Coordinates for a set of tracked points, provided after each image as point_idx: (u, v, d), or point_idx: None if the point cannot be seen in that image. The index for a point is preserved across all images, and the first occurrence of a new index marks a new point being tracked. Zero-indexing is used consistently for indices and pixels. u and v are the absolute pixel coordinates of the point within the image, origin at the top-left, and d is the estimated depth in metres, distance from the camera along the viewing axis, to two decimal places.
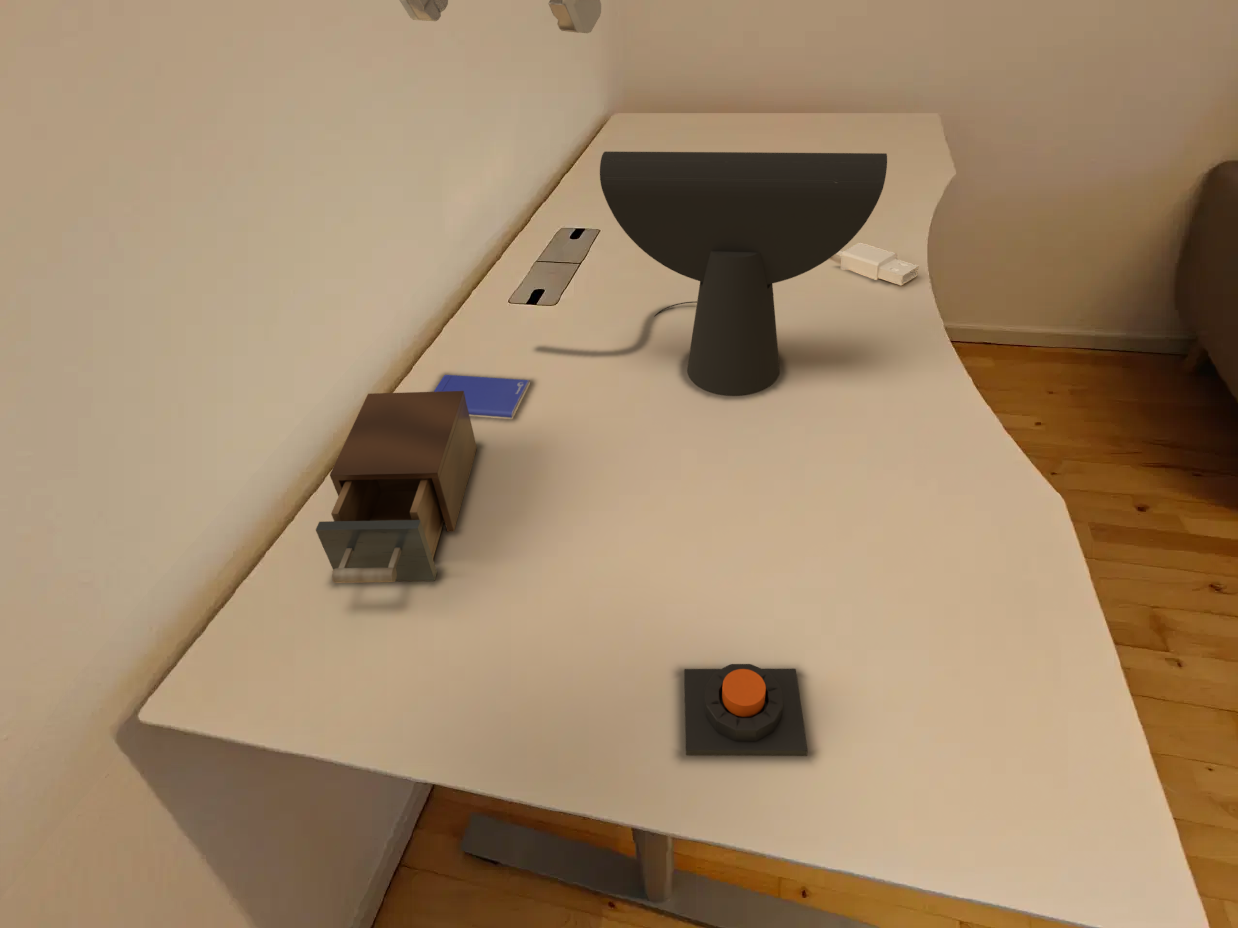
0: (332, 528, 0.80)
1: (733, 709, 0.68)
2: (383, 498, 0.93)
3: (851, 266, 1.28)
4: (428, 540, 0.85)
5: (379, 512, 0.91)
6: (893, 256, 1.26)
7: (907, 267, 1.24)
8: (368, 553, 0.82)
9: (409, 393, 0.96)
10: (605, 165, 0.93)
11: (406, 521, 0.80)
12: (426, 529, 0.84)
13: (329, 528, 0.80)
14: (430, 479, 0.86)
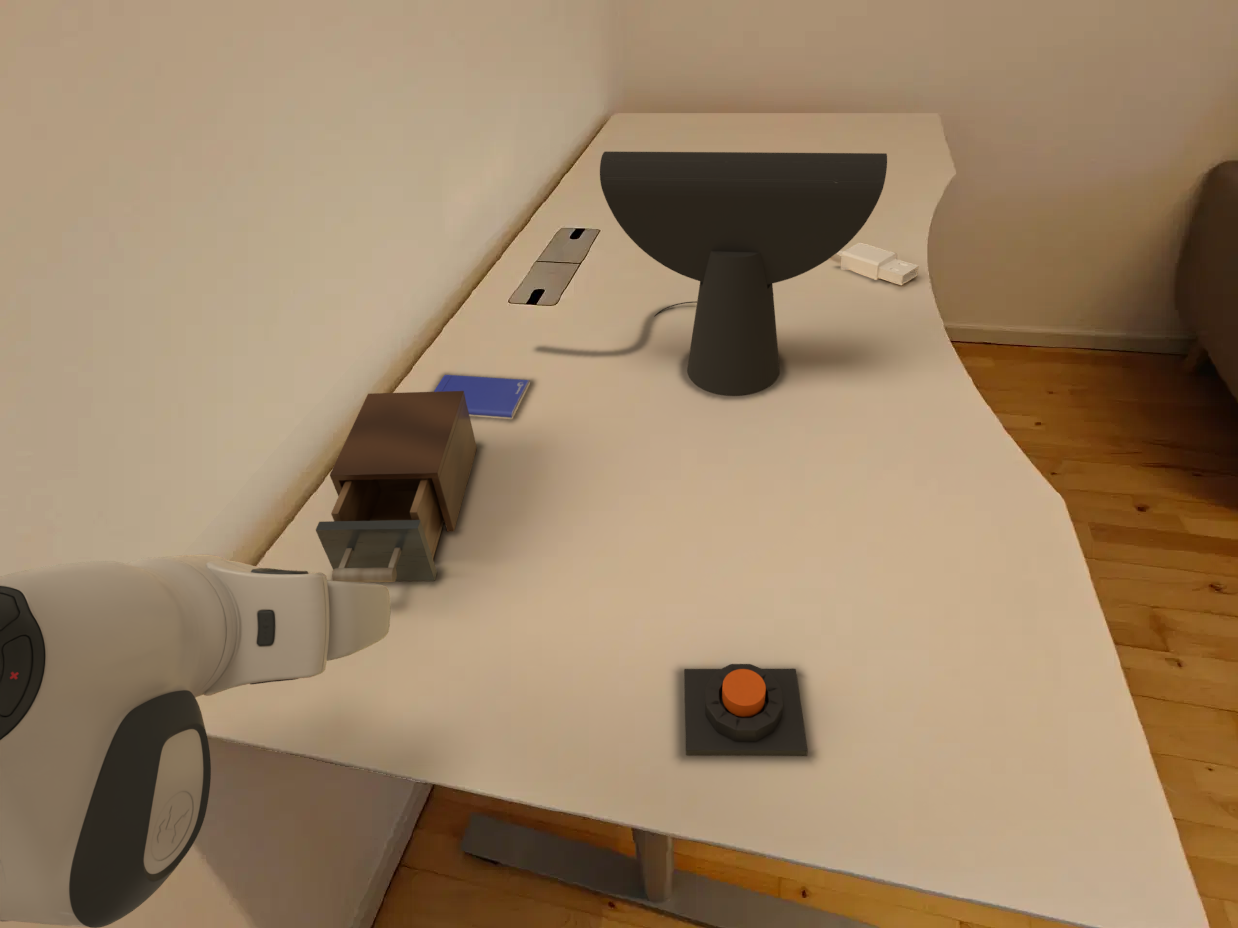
0: (332, 528, 0.80)
1: (733, 709, 0.68)
2: (383, 498, 0.93)
3: (851, 266, 1.28)
4: (428, 540, 0.85)
5: (379, 512, 0.91)
6: (893, 256, 1.26)
7: (907, 267, 1.24)
8: (368, 553, 0.82)
9: (409, 393, 0.96)
10: (605, 165, 0.93)
11: (406, 521, 0.80)
12: (426, 529, 0.84)
13: (329, 528, 0.80)
14: (430, 479, 0.86)
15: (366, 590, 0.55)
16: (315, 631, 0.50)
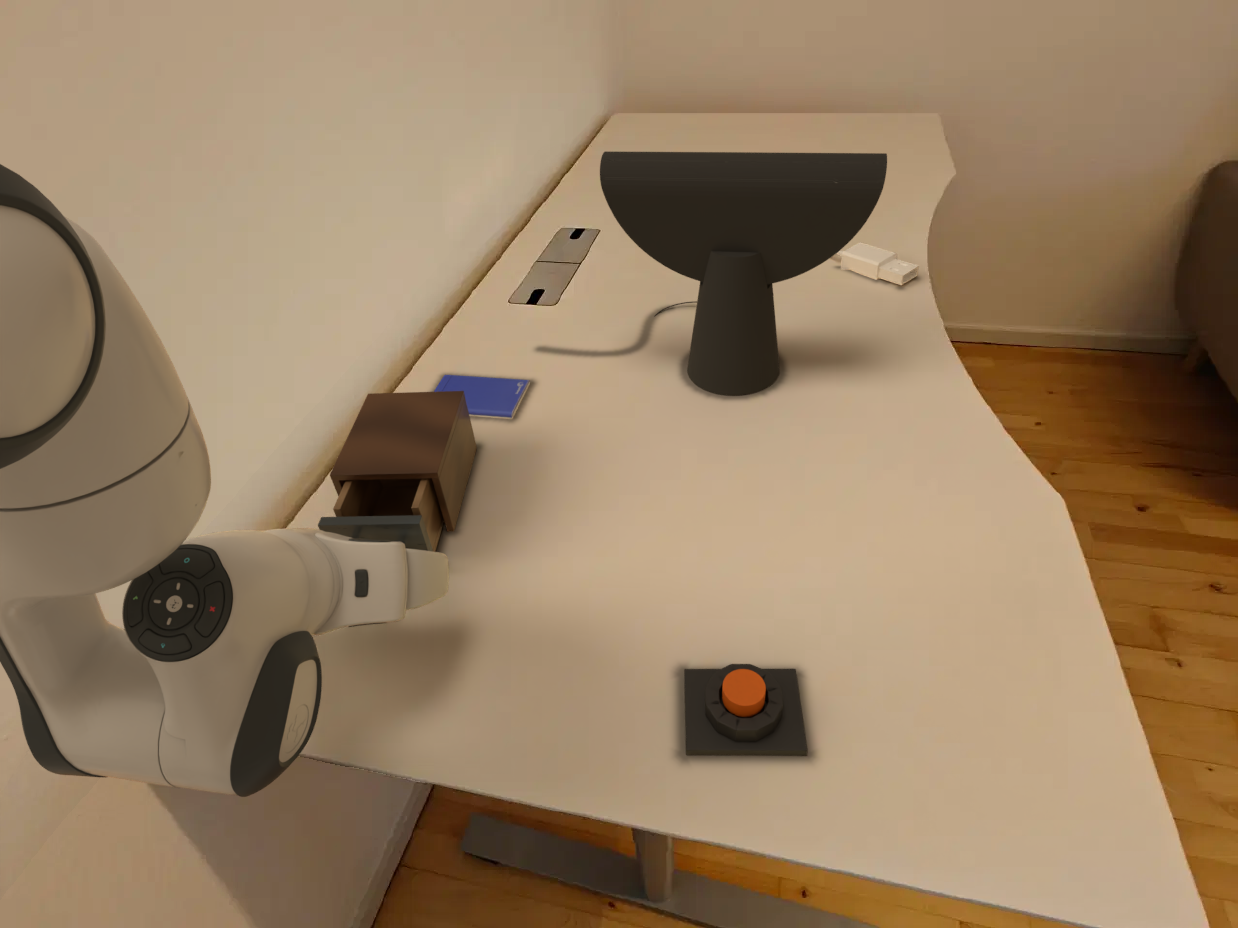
0: (334, 523, 0.81)
1: (733, 709, 0.68)
2: (384, 494, 0.94)
3: (851, 265, 1.28)
4: (429, 536, 0.85)
5: (381, 508, 0.92)
6: (893, 256, 1.26)
7: (907, 267, 1.24)
8: None
9: (409, 393, 0.96)
10: (605, 165, 0.93)
11: (408, 516, 0.81)
12: (427, 525, 0.85)
13: (332, 523, 0.81)
14: None
15: (433, 556, 0.69)
16: (398, 586, 0.64)
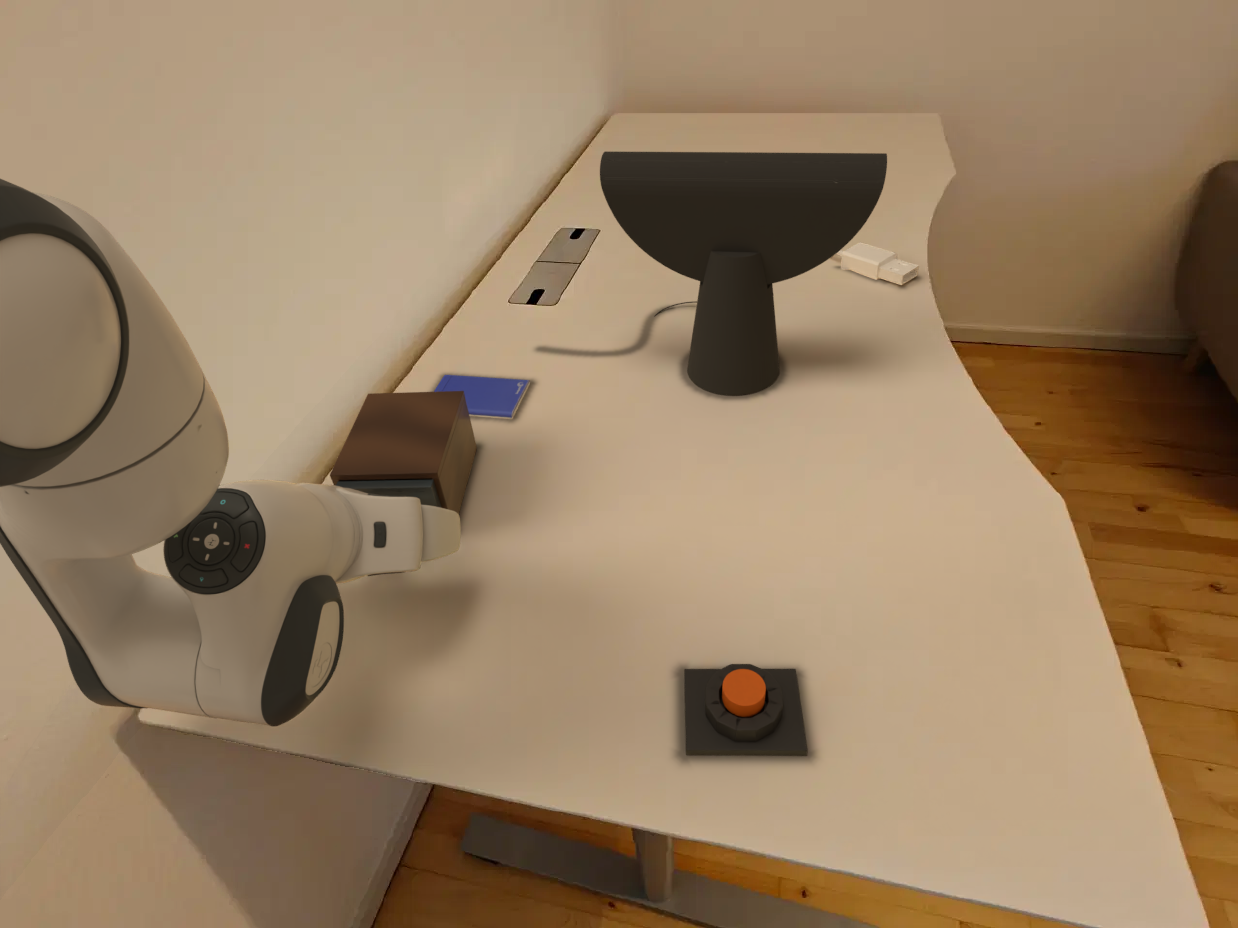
0: (350, 487, 0.85)
1: (733, 709, 0.68)
2: None
3: (851, 265, 1.28)
4: None
5: None
6: (893, 256, 1.26)
7: (907, 267, 1.24)
8: None
9: (409, 393, 0.96)
10: (605, 165, 0.93)
11: (420, 480, 0.85)
12: None
13: (347, 487, 0.85)
14: None
15: (446, 513, 0.73)
16: (414, 538, 0.69)
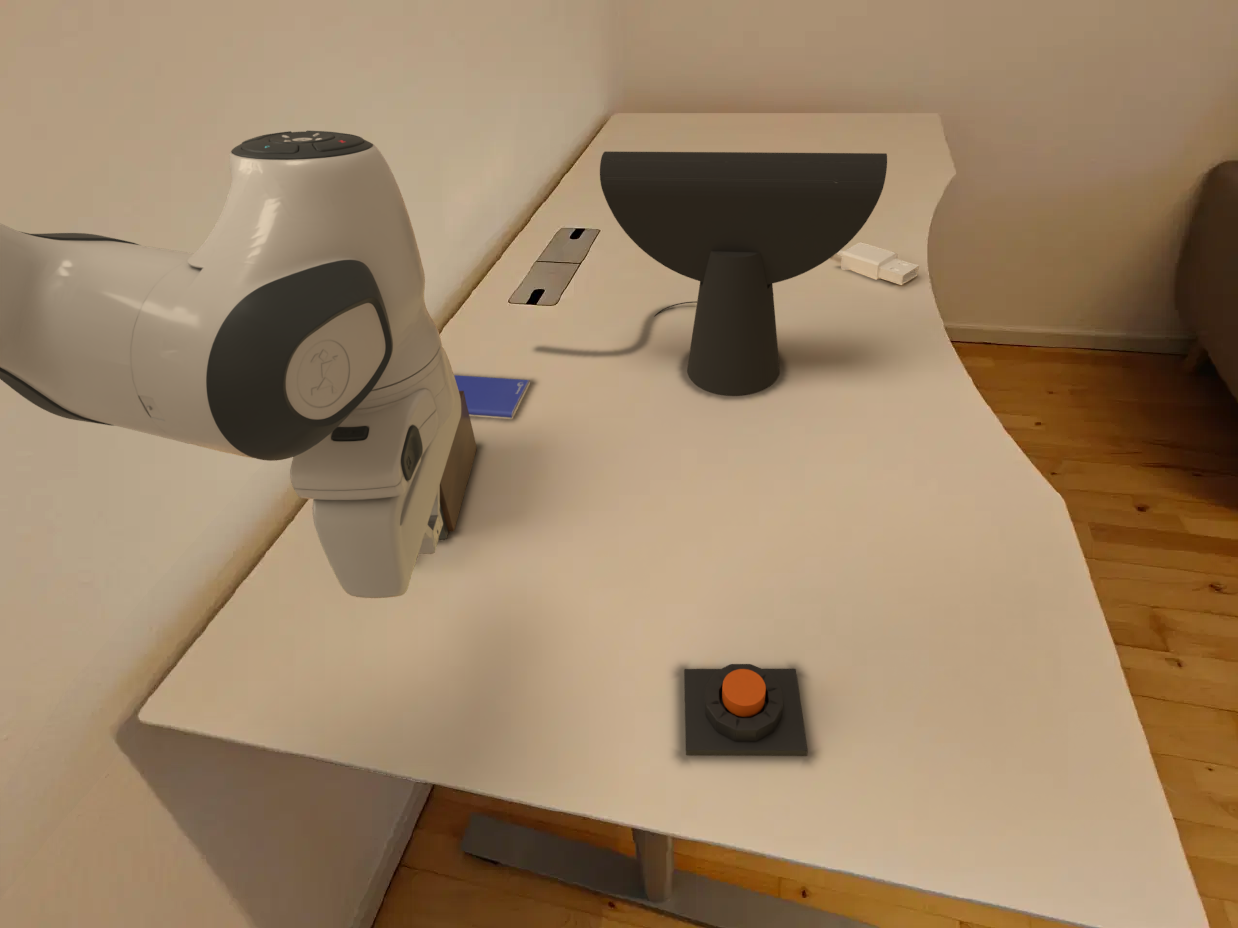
0: None
1: (733, 709, 0.68)
2: None
3: (851, 265, 1.28)
4: None
5: None
6: (893, 256, 1.26)
7: (907, 267, 1.24)
8: None
9: None
10: (605, 165, 0.93)
11: None
12: None
13: None
14: None
15: (387, 553, 0.47)
16: (334, 477, 0.45)
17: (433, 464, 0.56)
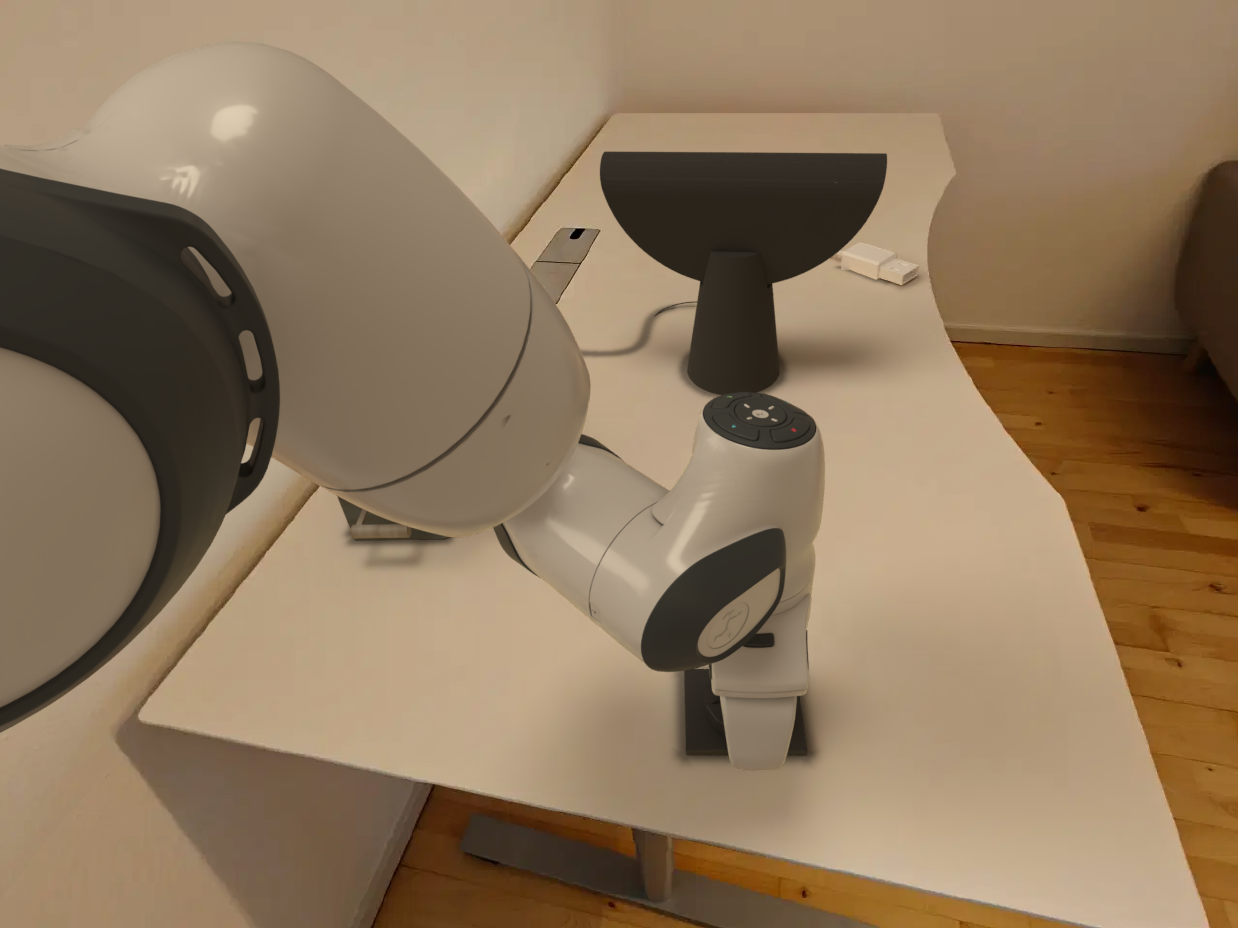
0: None
1: None
2: None
3: (851, 265, 1.28)
4: None
5: None
6: (894, 256, 1.26)
7: (907, 267, 1.24)
8: None
9: None
10: (605, 165, 0.93)
11: None
12: None
13: None
14: None
15: (784, 739, 0.55)
16: (755, 682, 0.53)
17: None
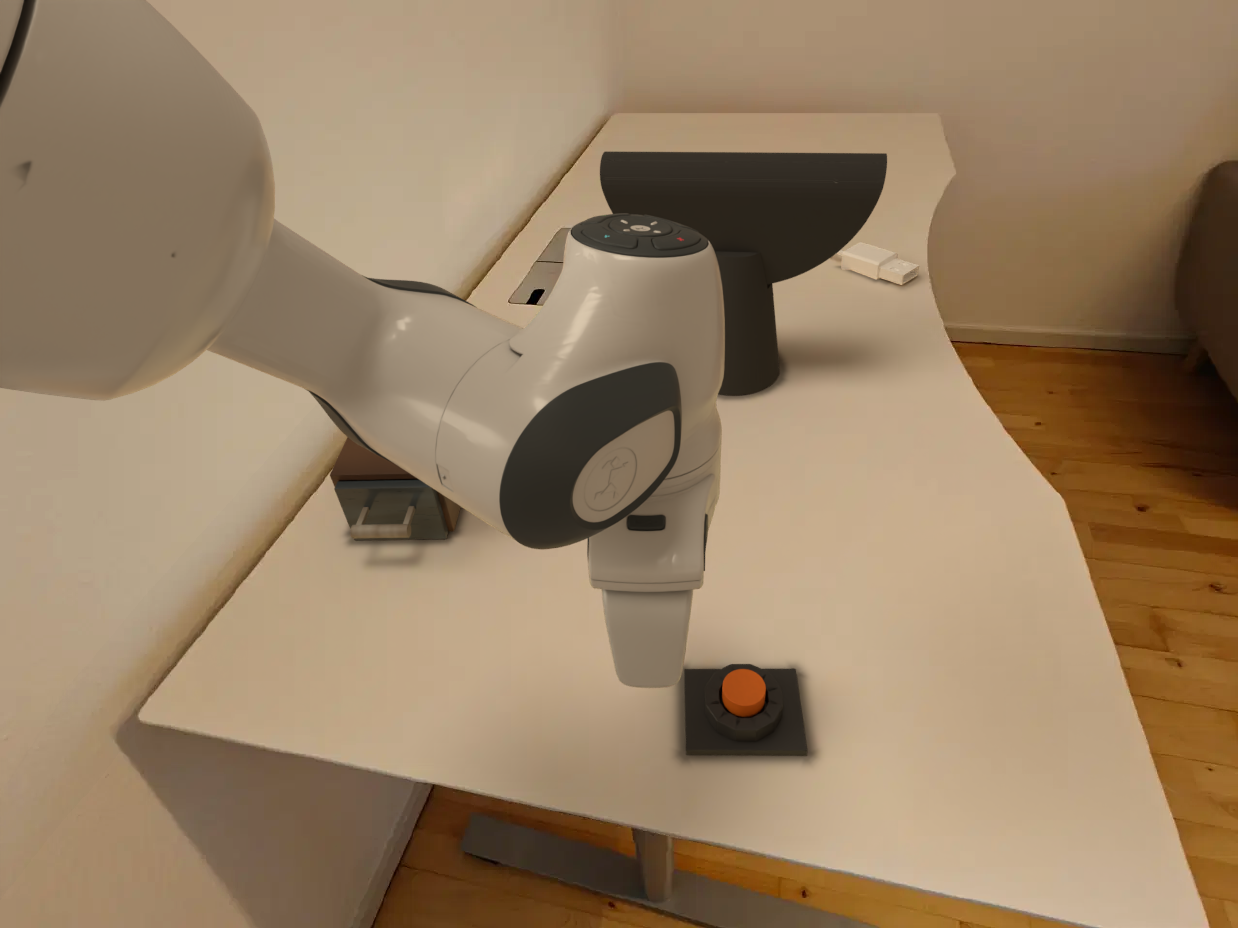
0: (350, 487, 0.85)
1: (733, 709, 0.68)
2: None
3: (851, 265, 1.28)
4: None
5: None
6: (894, 256, 1.26)
7: (908, 267, 1.24)
8: (383, 512, 0.87)
9: None
10: (605, 165, 0.93)
11: (420, 480, 0.85)
12: None
13: (347, 487, 0.85)
14: None
15: (677, 645, 0.46)
16: (638, 569, 0.44)
17: None
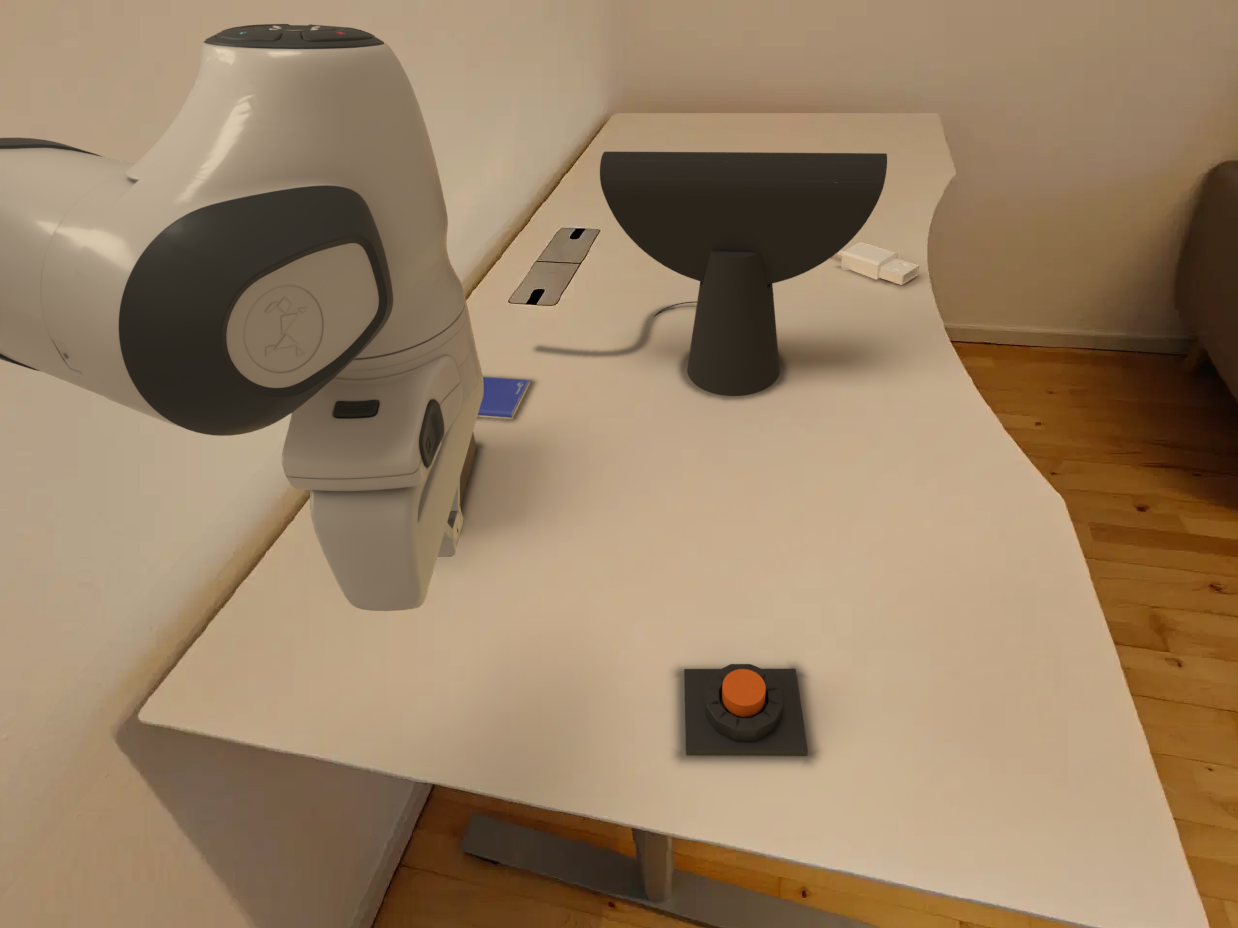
0: None
1: (733, 709, 0.68)
2: None
3: (852, 265, 1.28)
4: None
5: None
6: (894, 256, 1.26)
7: (908, 267, 1.24)
8: None
9: None
10: (605, 165, 0.93)
11: None
12: None
13: None
14: None
15: (402, 556, 0.39)
16: (337, 462, 0.36)
17: (454, 450, 0.48)
